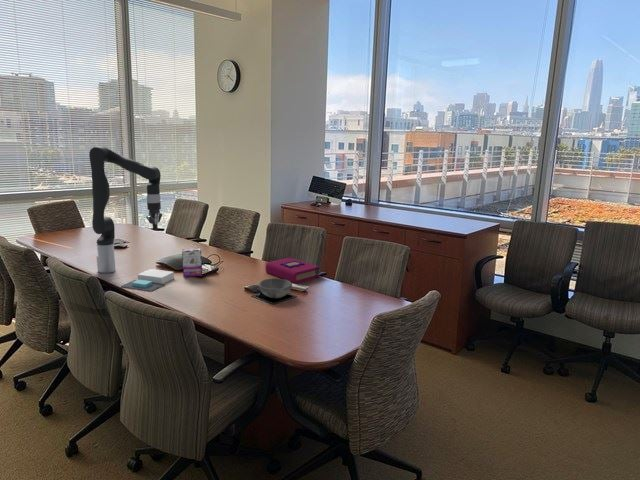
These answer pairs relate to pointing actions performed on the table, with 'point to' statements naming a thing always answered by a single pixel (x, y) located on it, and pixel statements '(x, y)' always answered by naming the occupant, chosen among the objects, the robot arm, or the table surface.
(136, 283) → the teal flat block
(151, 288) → the mat
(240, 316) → the table surface
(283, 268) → the book
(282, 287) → the bowl
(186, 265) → the candy bar box
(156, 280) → the block
